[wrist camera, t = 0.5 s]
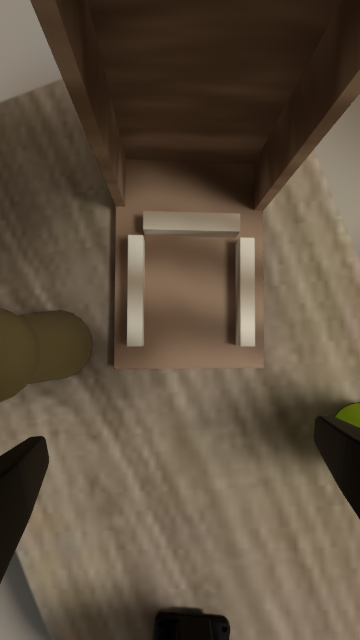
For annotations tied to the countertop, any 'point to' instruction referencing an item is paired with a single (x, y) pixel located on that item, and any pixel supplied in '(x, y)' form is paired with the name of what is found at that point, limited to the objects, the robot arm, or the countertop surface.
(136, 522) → the countertop surface
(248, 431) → the countertop surface
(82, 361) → the cork
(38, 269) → the countertop surface
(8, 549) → the robot arm
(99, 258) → the countertop surface
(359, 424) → the soap dispenser
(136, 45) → the wooden stand
